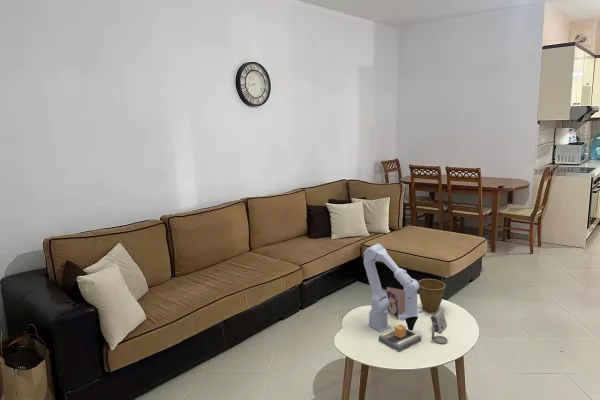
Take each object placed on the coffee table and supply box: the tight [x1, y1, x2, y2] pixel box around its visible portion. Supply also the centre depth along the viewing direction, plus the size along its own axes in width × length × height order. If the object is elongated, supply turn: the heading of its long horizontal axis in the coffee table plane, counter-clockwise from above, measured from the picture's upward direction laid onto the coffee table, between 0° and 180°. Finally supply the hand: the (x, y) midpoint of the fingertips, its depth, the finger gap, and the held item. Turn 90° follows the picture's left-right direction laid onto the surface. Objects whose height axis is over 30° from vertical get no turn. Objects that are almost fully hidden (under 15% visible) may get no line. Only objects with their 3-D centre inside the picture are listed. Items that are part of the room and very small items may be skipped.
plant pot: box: [417, 278, 446, 314], centre depth 242 cm, size 15×15×16 cm
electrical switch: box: [430, 309, 448, 334], centre depth 223 cm, size 9×5×9 cm, turn 141°
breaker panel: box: [378, 328, 422, 353], centre depth 212 cm, size 13×16×3 cm
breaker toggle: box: [394, 323, 407, 338], centre depth 211 cm, size 4×4×5 cm
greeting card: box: [386, 286, 406, 321], centre depth 238 cm, size 11×7×15 cm, turn 25°
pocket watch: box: [431, 322, 449, 345], centre depth 211 cm, size 8×8×10 cm
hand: (410, 329), depth 216 cm, fingers closed
